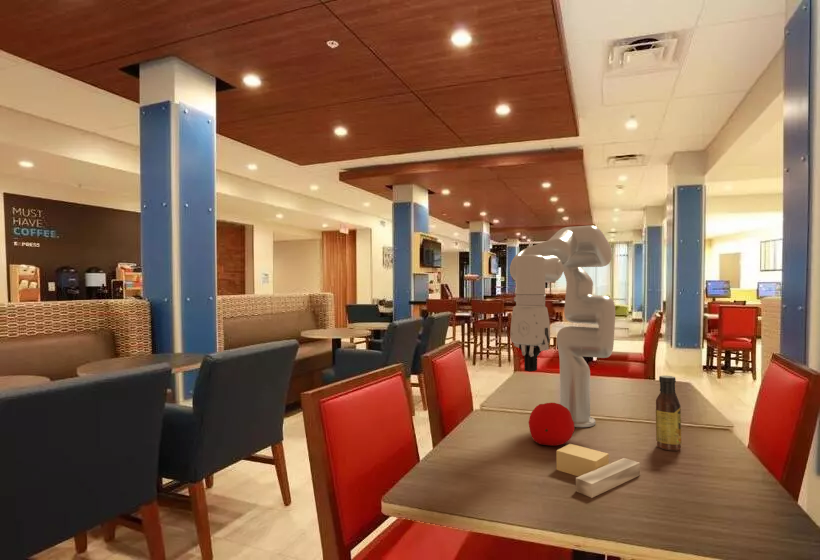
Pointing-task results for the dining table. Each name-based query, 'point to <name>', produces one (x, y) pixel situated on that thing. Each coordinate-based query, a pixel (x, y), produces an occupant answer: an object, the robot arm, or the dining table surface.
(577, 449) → the block
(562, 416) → the tomato
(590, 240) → the robot arm
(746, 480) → the dining table surface
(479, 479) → the dining table surface
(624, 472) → the pale grey bar
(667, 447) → the sauce bottle
